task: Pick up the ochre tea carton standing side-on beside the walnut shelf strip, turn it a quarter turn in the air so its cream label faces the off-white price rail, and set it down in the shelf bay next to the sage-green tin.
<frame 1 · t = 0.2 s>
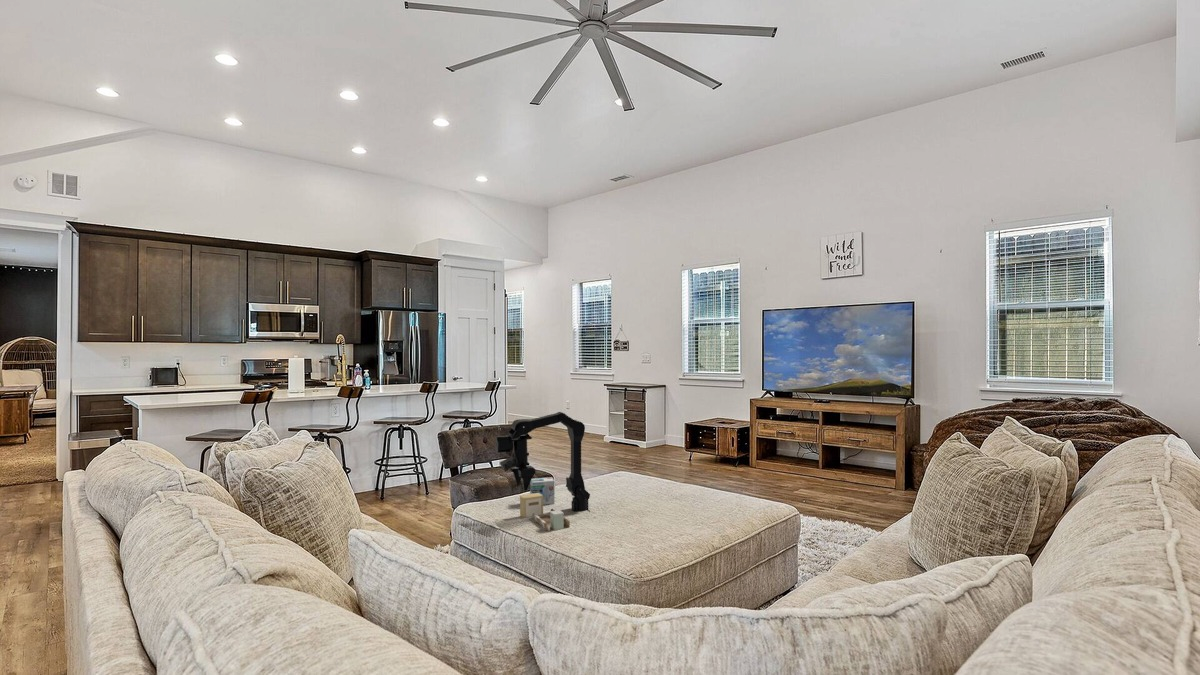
hand: (521, 487, 247), 14 cm above the table, fingers open, 9 cm apart
tea carton: (531, 516, 252), on the table
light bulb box: (542, 503, 272), on the table
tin: (557, 527, 235), point 1 cm above the table, touching shelf
shelf: (550, 525, 241), on the table
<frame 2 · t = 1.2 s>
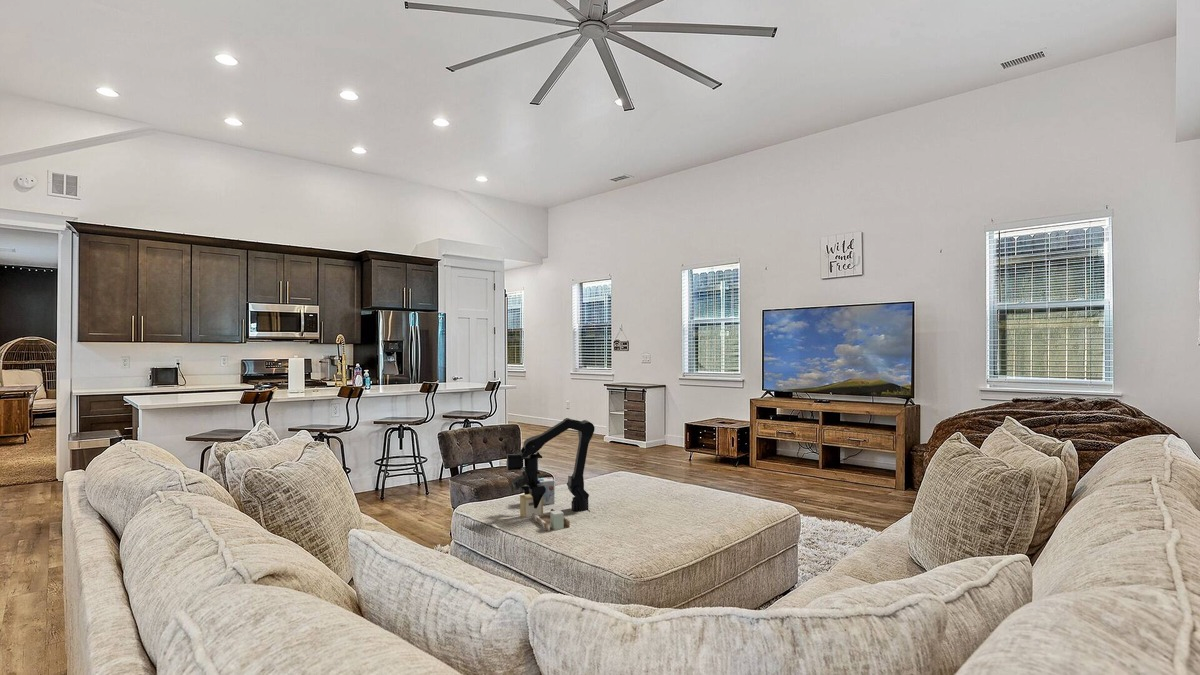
hand: (531, 505, 252), 5 cm above the table, fingers open, 9 cm apart
nothing on the table moved.
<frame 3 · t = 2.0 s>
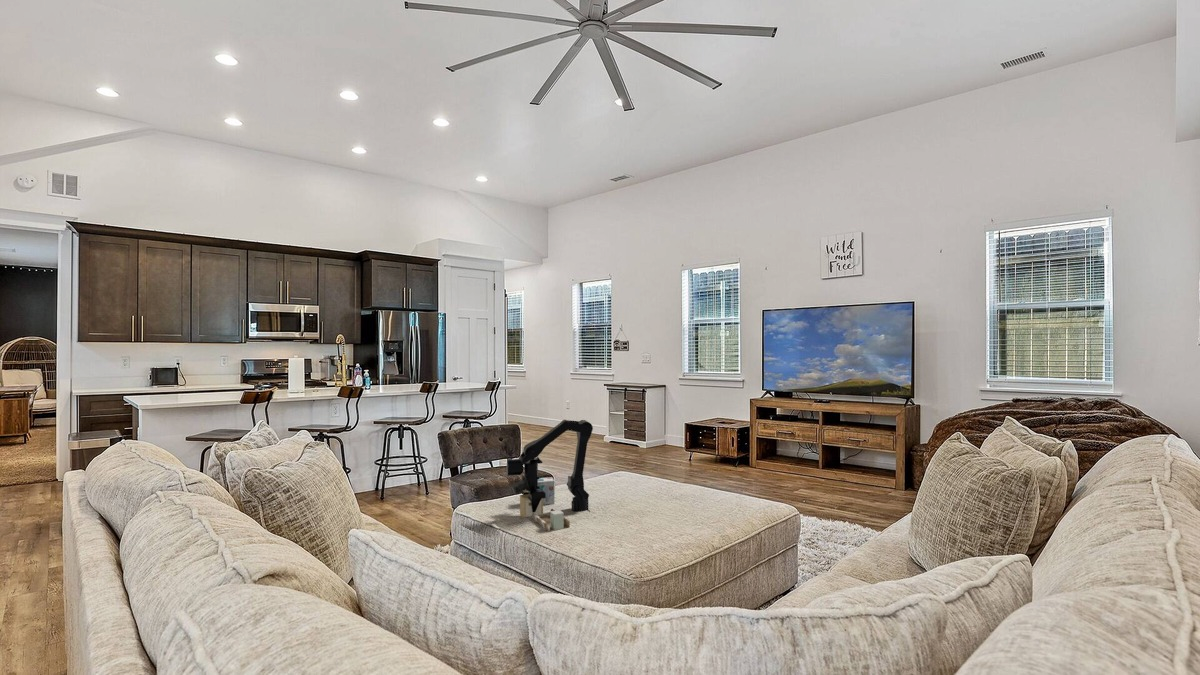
hand: (531, 510, 252), 3 cm above the table, fingers closed on tea carton, 5 cm apart
tea carton: (531, 516, 252), on the table, touching gripper
everything else where it was.
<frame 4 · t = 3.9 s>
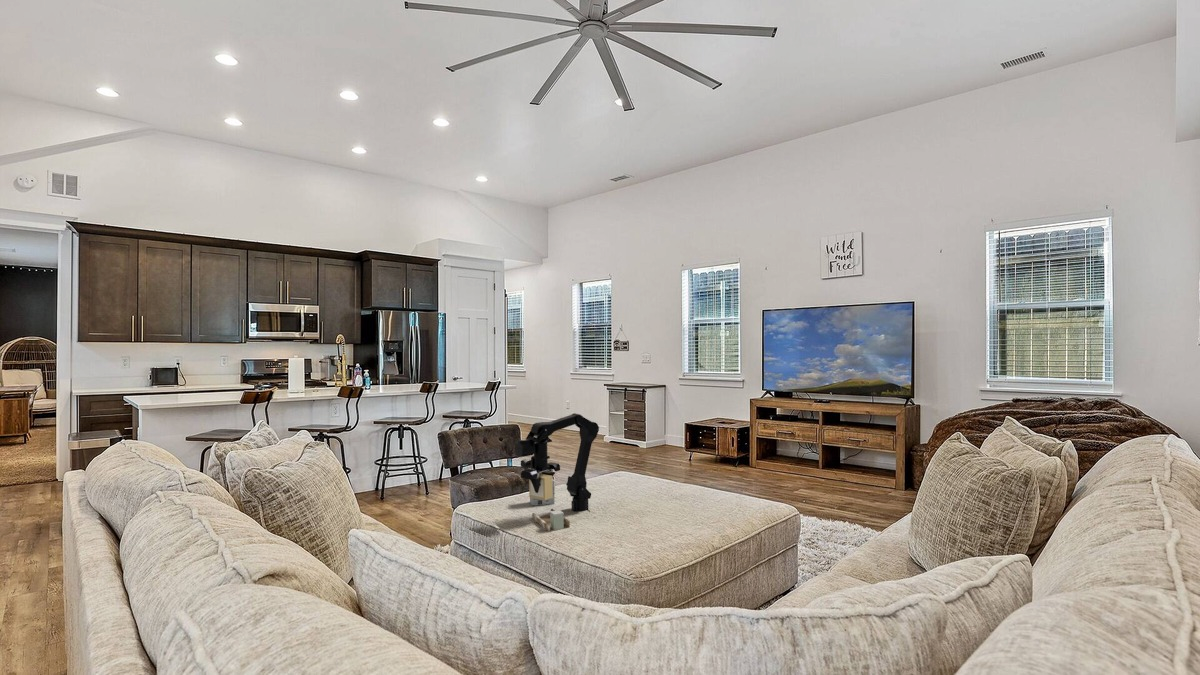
hand: (541, 491, 246), 12 cm above the table, fingers closed on tea carton, 5 cm apart
tea carton: (541, 497, 246), point 10 cm above the table, touching gripper
everything else where it was.
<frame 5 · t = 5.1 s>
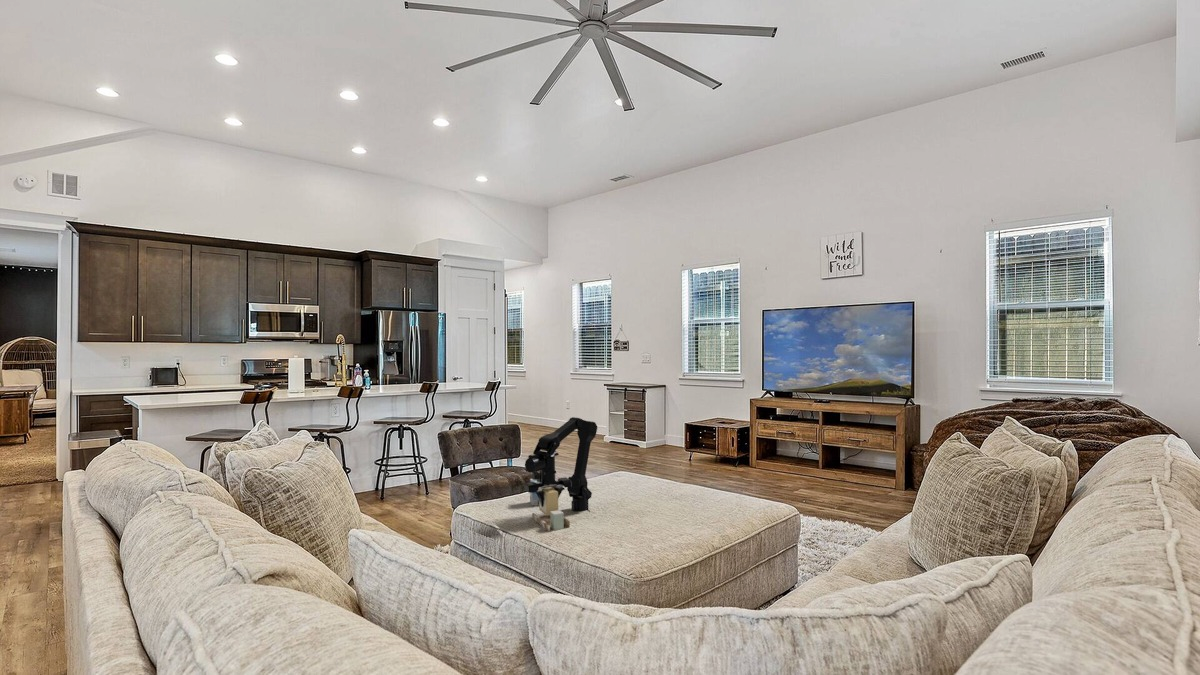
hand: (548, 505, 243), 7 cm above the table, fingers closed on tea carton, 5 cm apart
tea carton: (548, 511, 243), point 5 cm above the table, touching gripper
everything else where it was.
when the fingers open (5 cm above the table, at t = 5.9 s): tea carton drops 1 cm, resting on shelf.
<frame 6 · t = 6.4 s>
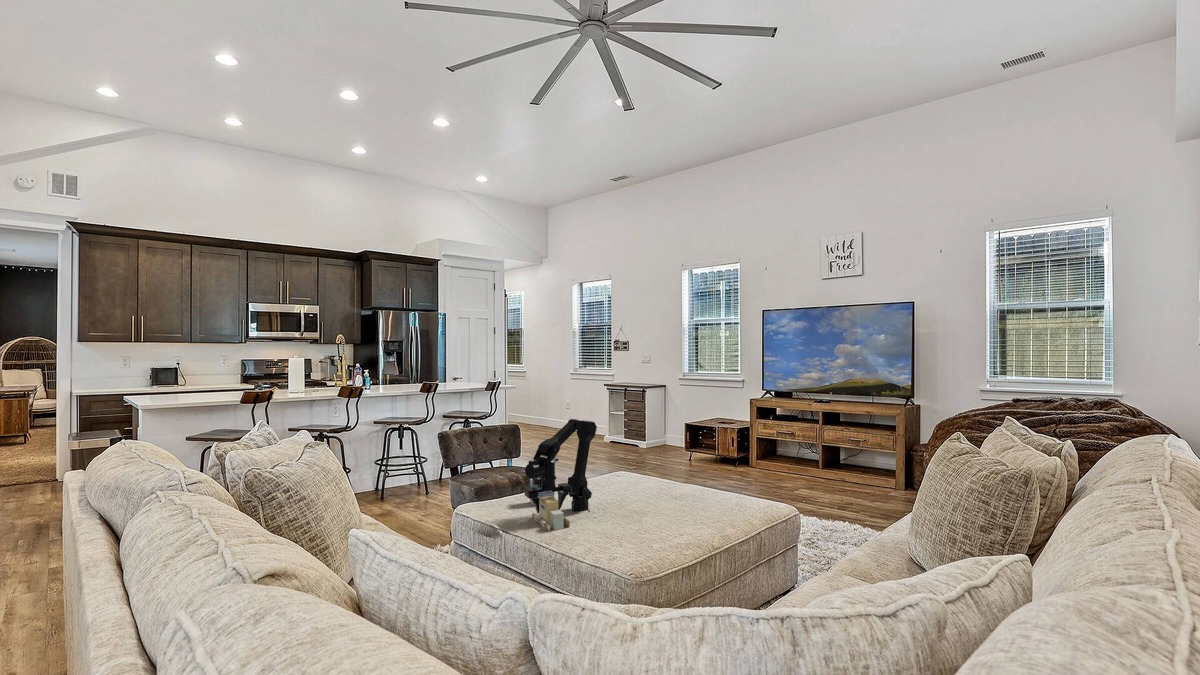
hand: (548, 511, 243), 5 cm above the table, fingers open, 9 cm apart
tea carton: (548, 521, 243), point 1 cm above the table, touching shelf
everything else where it was.
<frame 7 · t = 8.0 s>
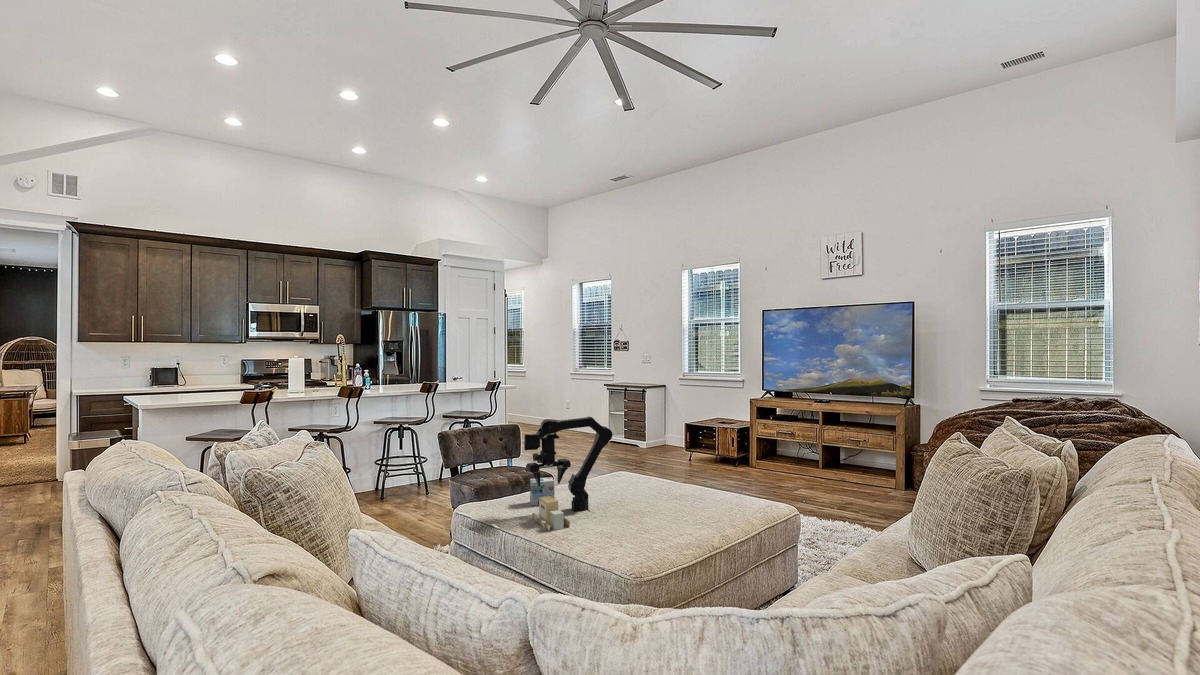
hand: (548, 485, 255), 12 cm above the table, fingers open, 9 cm apart
nothing on the table moved.
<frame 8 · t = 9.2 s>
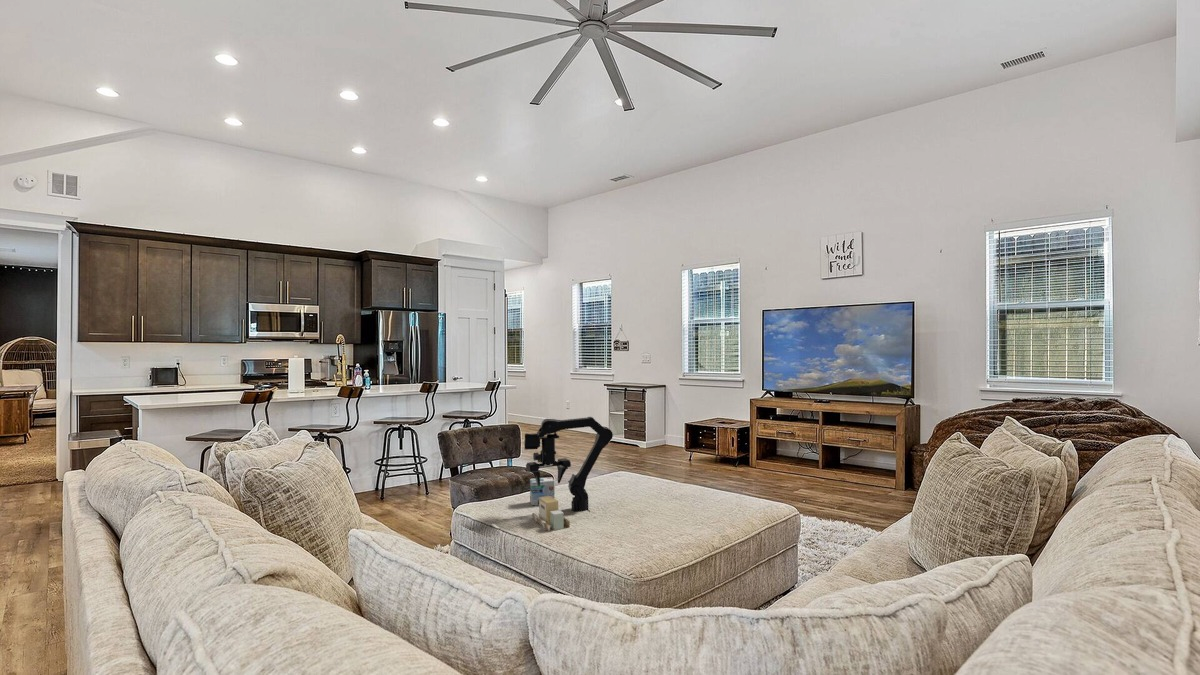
hand: (548, 484, 256), 13 cm above the table, fingers open, 9 cm apart
nothing on the table moved.
at the end: tea carton inside the target area on the shelf (0.6 cm from its centre), point 1.0 cm above the shelf's base; tea carton tilted 0°; the gripper is holding nothing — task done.
